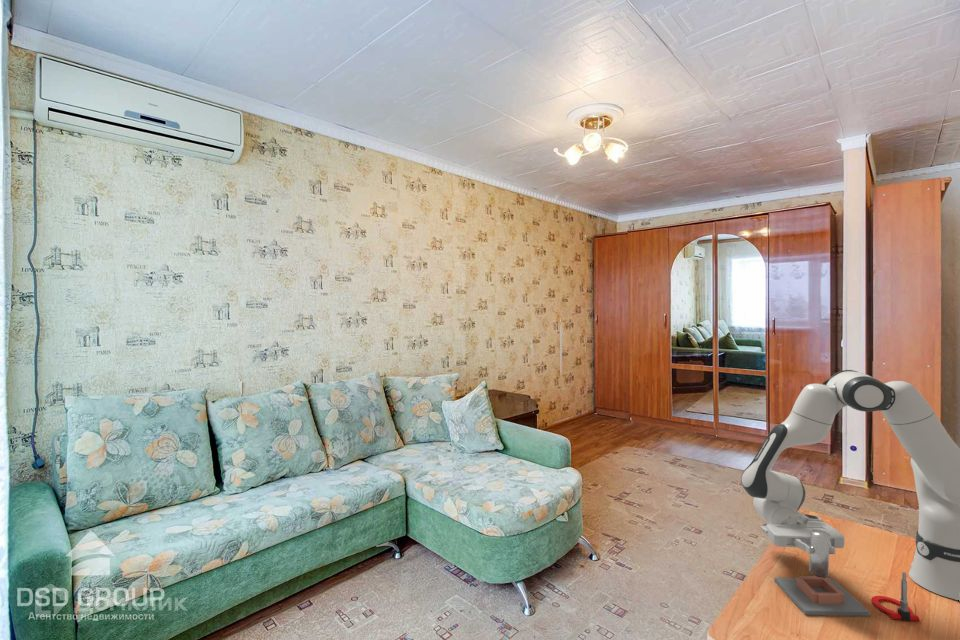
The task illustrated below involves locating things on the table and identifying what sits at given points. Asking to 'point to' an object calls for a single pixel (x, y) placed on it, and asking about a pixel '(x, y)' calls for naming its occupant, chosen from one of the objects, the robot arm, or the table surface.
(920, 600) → the table surface
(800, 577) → the keeper
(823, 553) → the brushed steel cylinder
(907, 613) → the tow hook
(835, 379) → the robot arm
